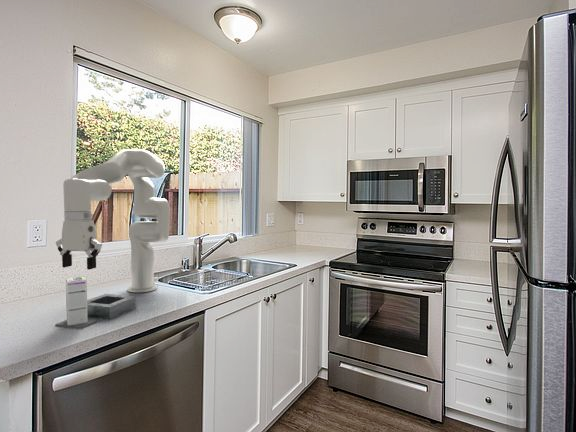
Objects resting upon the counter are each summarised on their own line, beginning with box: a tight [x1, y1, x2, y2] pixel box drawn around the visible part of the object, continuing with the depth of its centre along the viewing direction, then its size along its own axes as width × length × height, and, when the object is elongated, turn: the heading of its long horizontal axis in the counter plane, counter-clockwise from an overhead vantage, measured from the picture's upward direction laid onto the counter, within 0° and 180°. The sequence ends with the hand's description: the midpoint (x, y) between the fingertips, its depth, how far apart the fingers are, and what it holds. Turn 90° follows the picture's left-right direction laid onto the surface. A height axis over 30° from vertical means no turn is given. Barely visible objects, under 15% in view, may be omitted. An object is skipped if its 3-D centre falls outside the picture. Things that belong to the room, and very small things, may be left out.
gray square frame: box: [87, 293, 137, 321], centre depth 123 cm, size 14×14×4 cm
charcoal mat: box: [54, 318, 101, 330], centre depth 112 cm, size 8×10×1 cm
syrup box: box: [65, 276, 88, 326], centre depth 111 cm, size 6×6×14 cm
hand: (79, 267), depth 111 cm, fingers open, 9 cm apart
